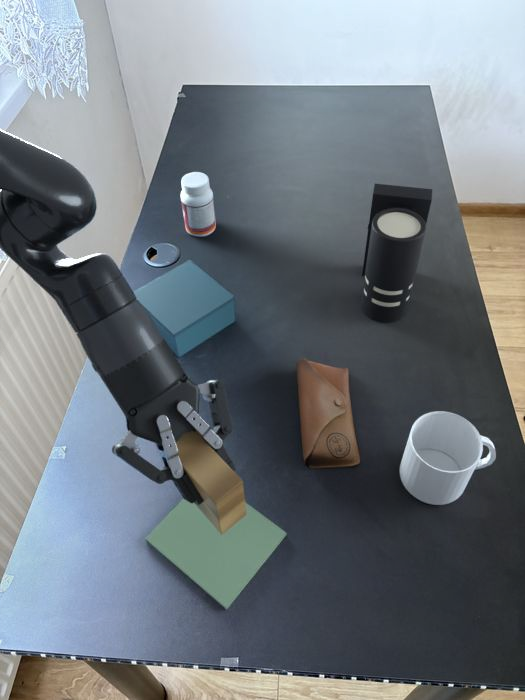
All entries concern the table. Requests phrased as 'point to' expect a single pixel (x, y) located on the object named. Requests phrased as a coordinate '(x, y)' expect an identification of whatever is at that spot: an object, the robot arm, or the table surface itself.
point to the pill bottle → (197, 204)
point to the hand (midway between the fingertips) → (214, 489)
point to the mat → (216, 549)
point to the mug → (442, 457)
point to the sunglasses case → (326, 416)
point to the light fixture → (393, 249)
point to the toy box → (187, 306)
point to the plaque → (212, 482)
